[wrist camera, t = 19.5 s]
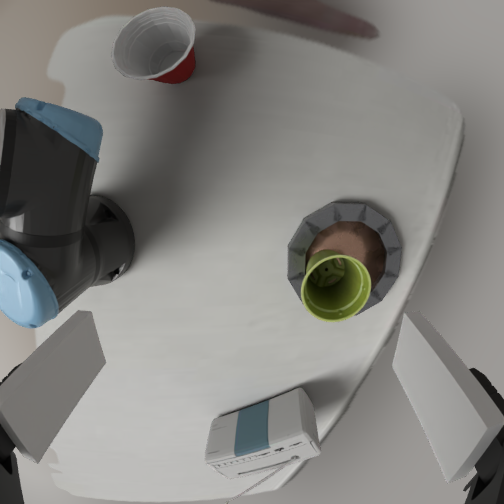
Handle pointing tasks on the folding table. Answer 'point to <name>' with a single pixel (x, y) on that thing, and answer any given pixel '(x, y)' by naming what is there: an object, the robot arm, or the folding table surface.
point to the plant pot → (335, 286)
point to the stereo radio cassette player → (263, 437)
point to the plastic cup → (156, 46)
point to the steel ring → (348, 245)
